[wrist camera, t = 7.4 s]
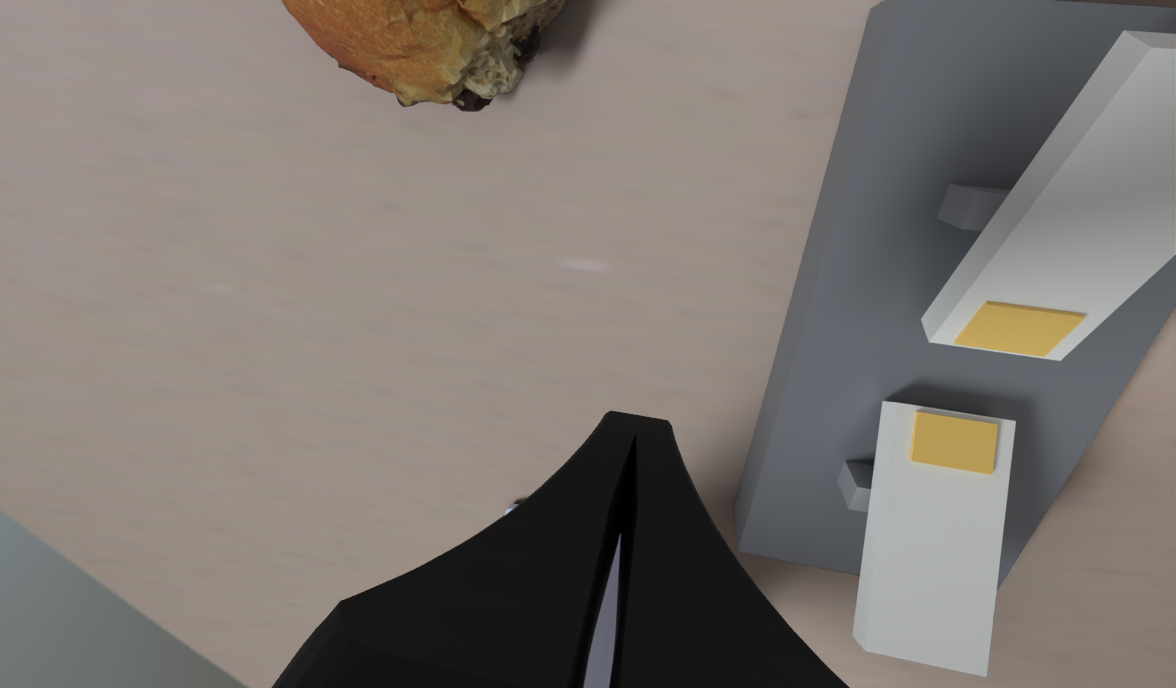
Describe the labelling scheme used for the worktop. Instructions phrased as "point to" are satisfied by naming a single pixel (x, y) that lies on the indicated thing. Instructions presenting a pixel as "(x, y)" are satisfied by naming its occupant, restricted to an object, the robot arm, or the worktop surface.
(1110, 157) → the rocker
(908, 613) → the rocker
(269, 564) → the worktop surface
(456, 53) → the bread roll
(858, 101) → the switch unit
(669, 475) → the robot arm
